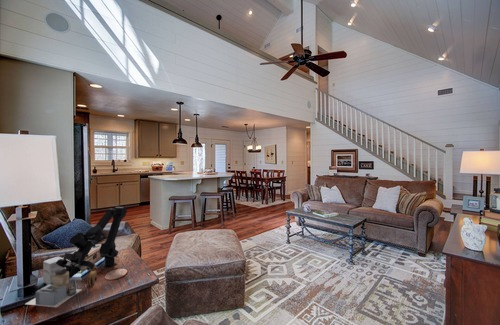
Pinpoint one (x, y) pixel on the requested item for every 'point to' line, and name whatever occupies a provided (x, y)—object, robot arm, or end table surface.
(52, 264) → the supplement box
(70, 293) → the potentiometer
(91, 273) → the lion figurine
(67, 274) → the knob
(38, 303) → the mount
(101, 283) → the end table surface
